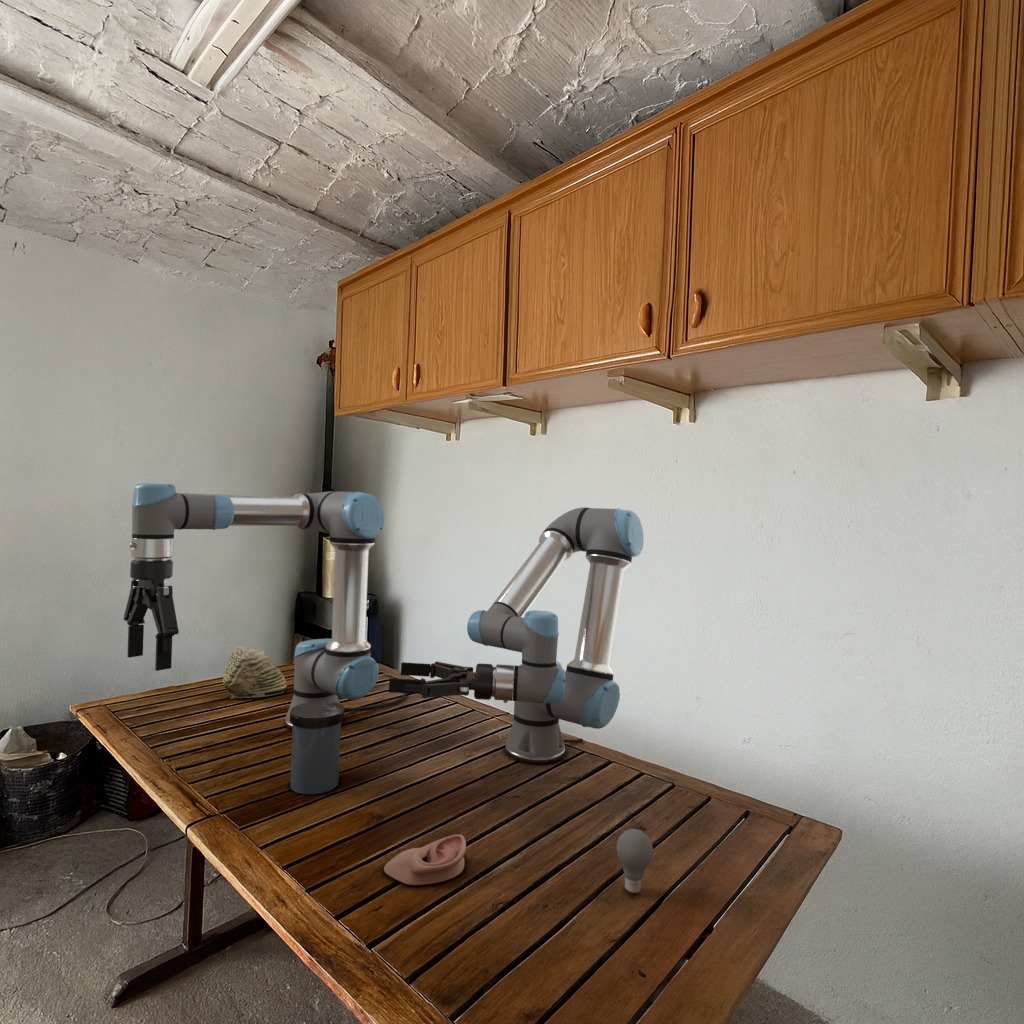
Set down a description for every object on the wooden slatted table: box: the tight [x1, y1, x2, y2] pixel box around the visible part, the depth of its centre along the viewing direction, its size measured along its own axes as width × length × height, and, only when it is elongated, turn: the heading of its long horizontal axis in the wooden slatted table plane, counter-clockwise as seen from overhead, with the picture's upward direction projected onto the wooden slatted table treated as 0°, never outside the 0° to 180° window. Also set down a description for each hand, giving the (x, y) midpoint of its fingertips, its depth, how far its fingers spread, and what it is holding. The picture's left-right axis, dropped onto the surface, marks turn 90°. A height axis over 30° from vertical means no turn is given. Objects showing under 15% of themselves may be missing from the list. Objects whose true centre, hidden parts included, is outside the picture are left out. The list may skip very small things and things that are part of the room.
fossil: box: [222, 646, 288, 699], centre depth 198 cm, size 9×18×15 cm, turn 132°
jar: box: [289, 722, 342, 795], centre depth 140 cm, size 10×10×16 cm
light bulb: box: [615, 828, 654, 894], centre depth 106 cm, size 6×6×10 cm
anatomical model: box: [383, 834, 467, 886], centre depth 110 cm, size 13×4×12 cm
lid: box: [290, 701, 345, 728], centre depth 139 cm, size 11×11×2 cm
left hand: (148, 662), depth 129 cm, fingers open, 13 cm apart
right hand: (395, 676), depth 137 cm, fingers open, 13 cm apart
